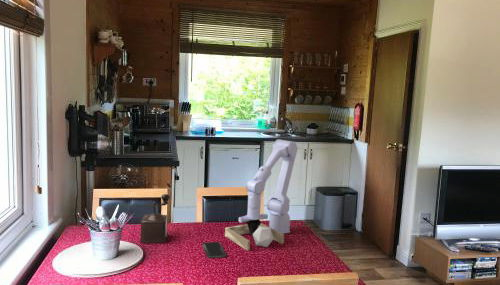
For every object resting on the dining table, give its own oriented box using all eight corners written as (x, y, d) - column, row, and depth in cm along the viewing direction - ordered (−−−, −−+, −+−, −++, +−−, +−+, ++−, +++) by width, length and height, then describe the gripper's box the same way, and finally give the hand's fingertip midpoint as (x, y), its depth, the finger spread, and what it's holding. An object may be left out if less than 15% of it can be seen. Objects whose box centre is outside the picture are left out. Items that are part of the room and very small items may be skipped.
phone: (207, 256, 160) (201, 242, 174) (207, 259, 160) (201, 245, 174) (227, 255, 162) (220, 241, 176) (227, 258, 162) (219, 244, 176)
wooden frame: (259, 230, 196) (259, 222, 196) (283, 243, 180) (284, 234, 180) (224, 236, 186) (225, 227, 185) (247, 250, 170) (247, 241, 169)
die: (275, 245, 179) (268, 225, 183) (275, 242, 171) (268, 221, 175) (258, 252, 178) (251, 231, 182) (257, 249, 171) (250, 227, 174)
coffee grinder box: (166, 243, 173) (167, 202, 171) (139, 243, 172) (140, 201, 170) (169, 231, 188) (170, 193, 186) (144, 230, 187) (145, 192, 185)
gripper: (262, 202, 189) (260, 230, 191) (235, 205, 182) (234, 235, 183) (271, 206, 184) (269, 235, 185) (243, 210, 176) (242, 240, 177)
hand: (252, 235), depth 184 cm, fingers closed
